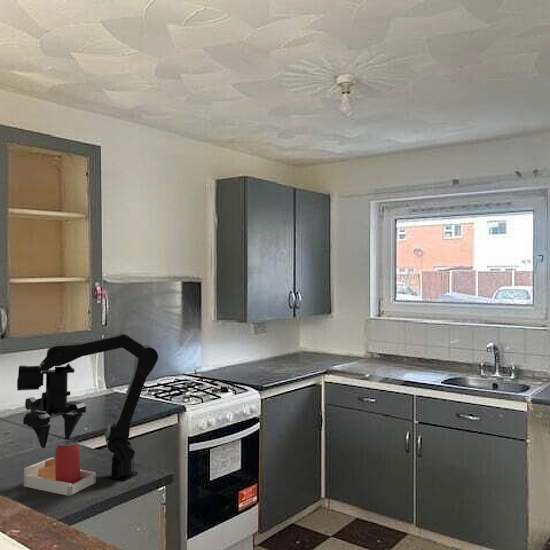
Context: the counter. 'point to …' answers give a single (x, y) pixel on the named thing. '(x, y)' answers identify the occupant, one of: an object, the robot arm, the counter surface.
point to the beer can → (67, 461)
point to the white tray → (54, 485)
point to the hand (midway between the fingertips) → (55, 443)
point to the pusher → (48, 470)
